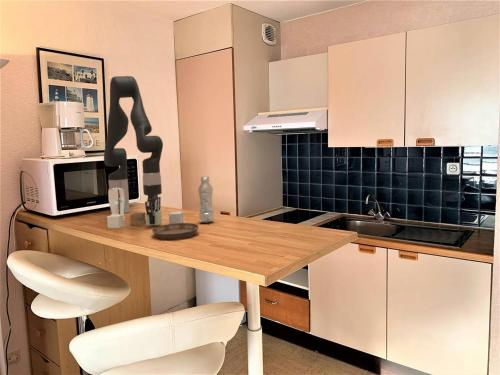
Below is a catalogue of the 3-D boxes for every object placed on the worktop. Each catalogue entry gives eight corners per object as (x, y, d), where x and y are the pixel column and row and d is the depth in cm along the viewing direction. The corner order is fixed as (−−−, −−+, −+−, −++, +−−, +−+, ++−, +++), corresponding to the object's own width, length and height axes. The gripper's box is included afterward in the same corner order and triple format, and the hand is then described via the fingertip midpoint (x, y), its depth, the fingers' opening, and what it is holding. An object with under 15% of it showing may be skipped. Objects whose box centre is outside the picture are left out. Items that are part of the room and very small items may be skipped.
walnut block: (135, 223, 176) (134, 212, 175) (146, 223, 176) (145, 212, 175) (130, 226, 171) (130, 214, 170) (142, 225, 171) (141, 214, 170)
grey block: (172, 223, 175) (171, 211, 174) (183, 222, 174) (183, 211, 174) (169, 225, 170) (168, 214, 169) (180, 225, 169) (180, 213, 169)
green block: (150, 222, 171) (150, 211, 171) (161, 222, 171) (161, 211, 170) (146, 225, 167) (146, 213, 166) (158, 225, 166) (157, 213, 166)
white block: (112, 225, 173) (112, 214, 172) (124, 225, 172) (123, 214, 172) (107, 228, 168) (107, 216, 167) (119, 228, 167) (118, 216, 167)
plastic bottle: (215, 220, 176) (213, 176, 174) (212, 224, 169) (210, 177, 167) (201, 221, 177) (199, 176, 174) (197, 224, 170) (195, 178, 168)
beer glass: (116, 222, 178) (113, 190, 177) (107, 221, 183) (104, 189, 181) (129, 220, 184) (126, 188, 182) (120, 218, 188) (117, 187, 186)
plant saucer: (152, 243, 141) (152, 235, 141) (151, 232, 158) (151, 225, 158) (202, 238, 146) (201, 230, 145) (195, 228, 163) (195, 221, 162)
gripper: (149, 181, 174) (151, 219, 176) (137, 185, 160) (140, 226, 162) (165, 181, 173) (167, 219, 176) (155, 185, 159) (157, 226, 161)
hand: (154, 222), depth 169 cm, fingers closed on green block, 5 cm apart
